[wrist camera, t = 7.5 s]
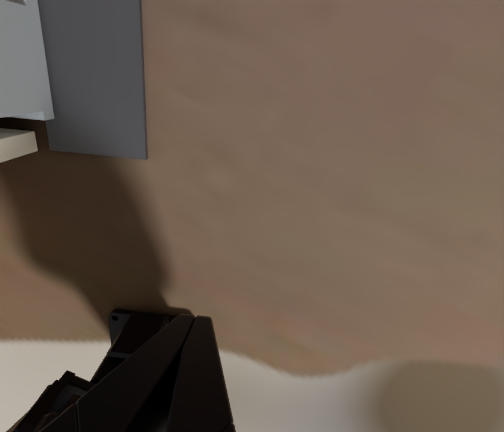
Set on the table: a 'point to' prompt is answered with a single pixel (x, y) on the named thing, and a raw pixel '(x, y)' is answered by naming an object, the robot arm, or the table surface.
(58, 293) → the table surface
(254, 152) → the table surface
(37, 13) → the bracket
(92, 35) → the tunnel
